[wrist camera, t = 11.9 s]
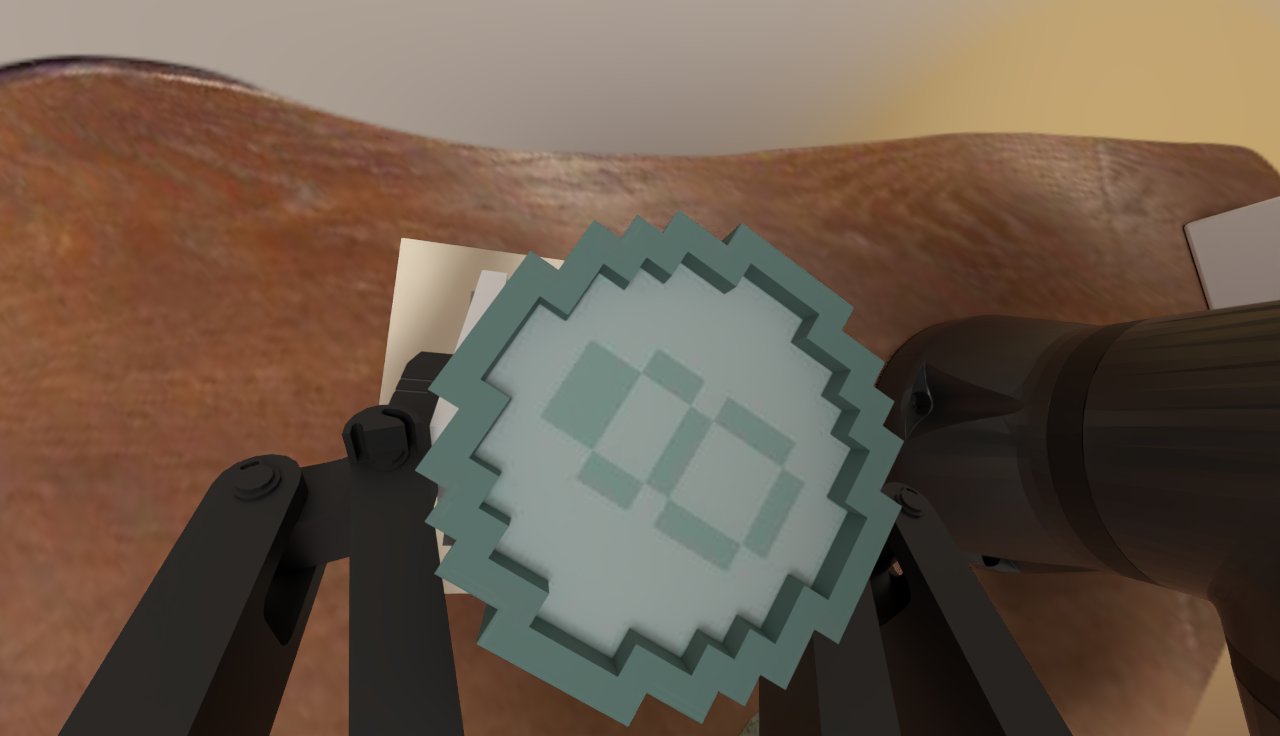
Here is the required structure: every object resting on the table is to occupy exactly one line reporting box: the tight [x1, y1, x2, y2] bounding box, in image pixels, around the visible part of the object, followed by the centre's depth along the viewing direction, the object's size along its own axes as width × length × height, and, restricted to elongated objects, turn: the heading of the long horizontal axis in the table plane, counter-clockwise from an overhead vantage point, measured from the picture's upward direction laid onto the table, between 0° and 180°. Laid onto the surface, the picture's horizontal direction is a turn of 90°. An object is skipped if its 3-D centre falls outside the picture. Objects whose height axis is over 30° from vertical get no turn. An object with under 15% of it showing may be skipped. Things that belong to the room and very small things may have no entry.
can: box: [415, 210, 904, 727], centre depth 13 cm, size 6×6×15 cm
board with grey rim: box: [379, 238, 564, 594], centre depth 22 cm, size 18×16×4 cm
